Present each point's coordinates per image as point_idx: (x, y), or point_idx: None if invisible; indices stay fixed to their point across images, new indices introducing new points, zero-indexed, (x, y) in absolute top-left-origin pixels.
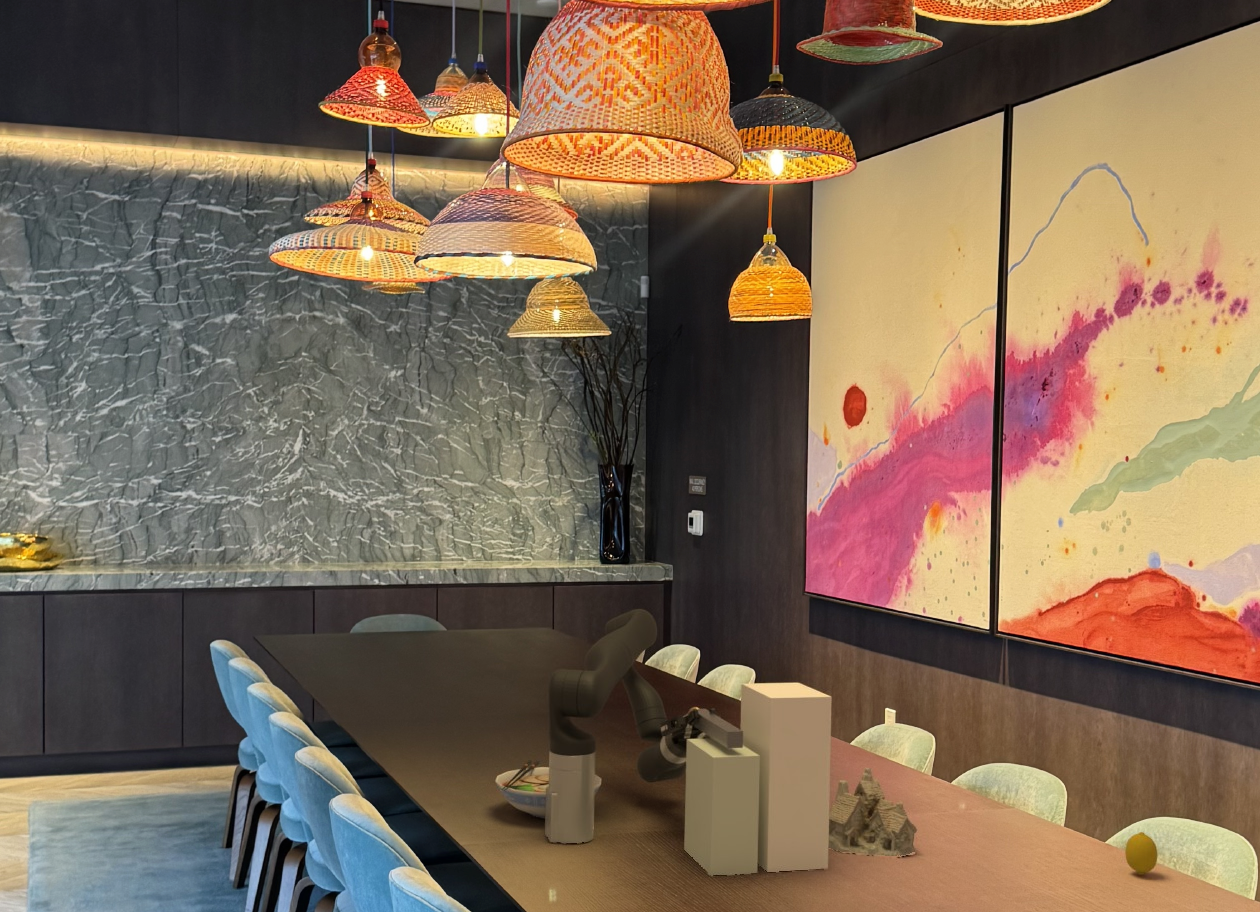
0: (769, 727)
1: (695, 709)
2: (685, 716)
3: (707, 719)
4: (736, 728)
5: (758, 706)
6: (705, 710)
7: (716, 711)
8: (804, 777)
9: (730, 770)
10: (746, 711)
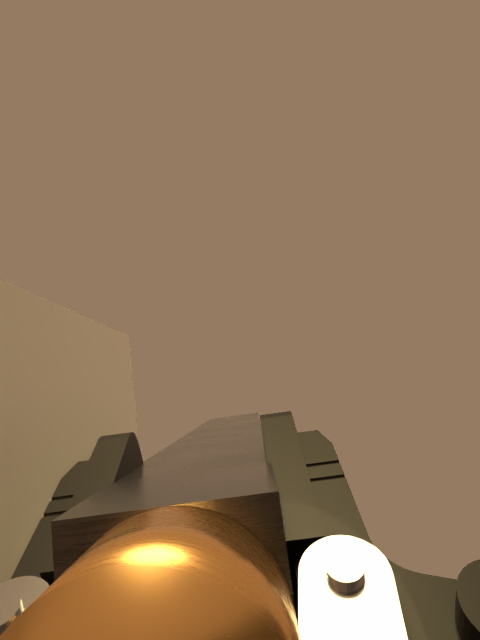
0: (134, 417)
1: (281, 414)
2: (384, 574)
3: (261, 428)
4: (211, 421)
5: (98, 371)
6: (130, 485)
7: (81, 469)
8: None
9: None
10: (42, 421)
